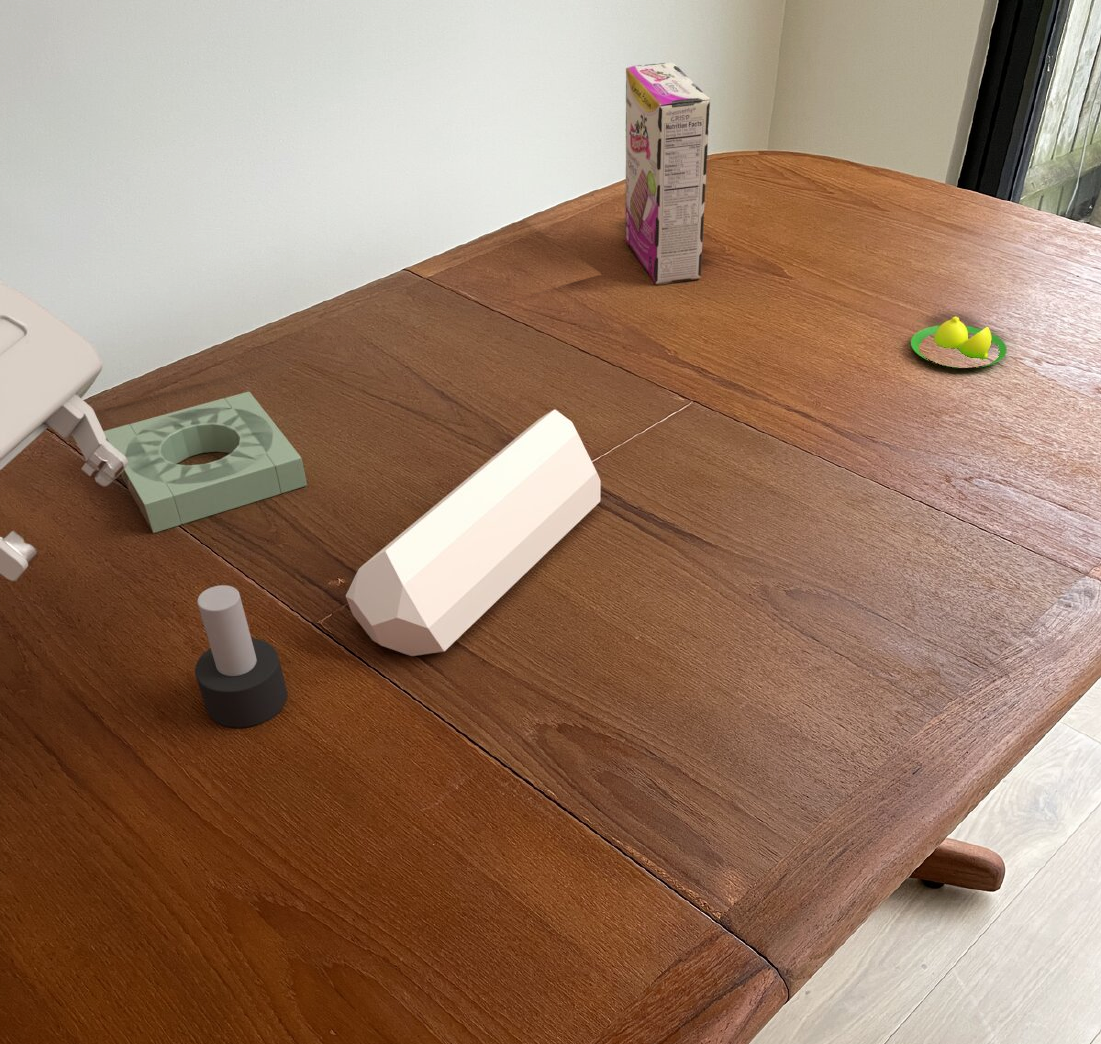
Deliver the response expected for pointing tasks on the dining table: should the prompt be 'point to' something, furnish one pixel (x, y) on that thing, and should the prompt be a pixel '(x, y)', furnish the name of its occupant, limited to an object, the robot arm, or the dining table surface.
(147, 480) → the sink plate
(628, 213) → the candy bar box
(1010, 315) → the dining table surface
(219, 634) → the stopper
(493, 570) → the crystal
